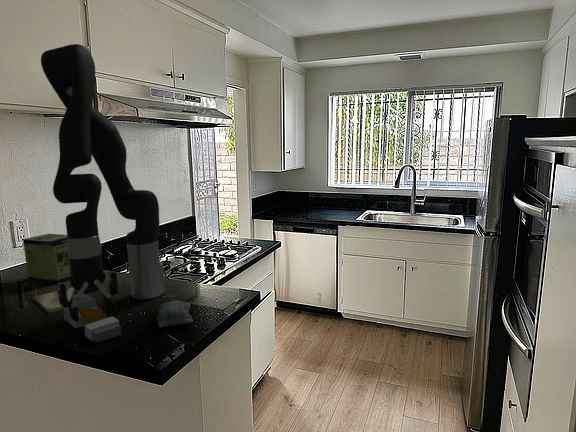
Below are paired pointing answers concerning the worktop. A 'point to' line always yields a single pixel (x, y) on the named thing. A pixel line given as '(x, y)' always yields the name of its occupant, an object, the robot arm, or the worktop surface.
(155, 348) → the worktop surface
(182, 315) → the packaged food
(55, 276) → the protein box
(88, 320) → the yellow tapered piece
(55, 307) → the birch board
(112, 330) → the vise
